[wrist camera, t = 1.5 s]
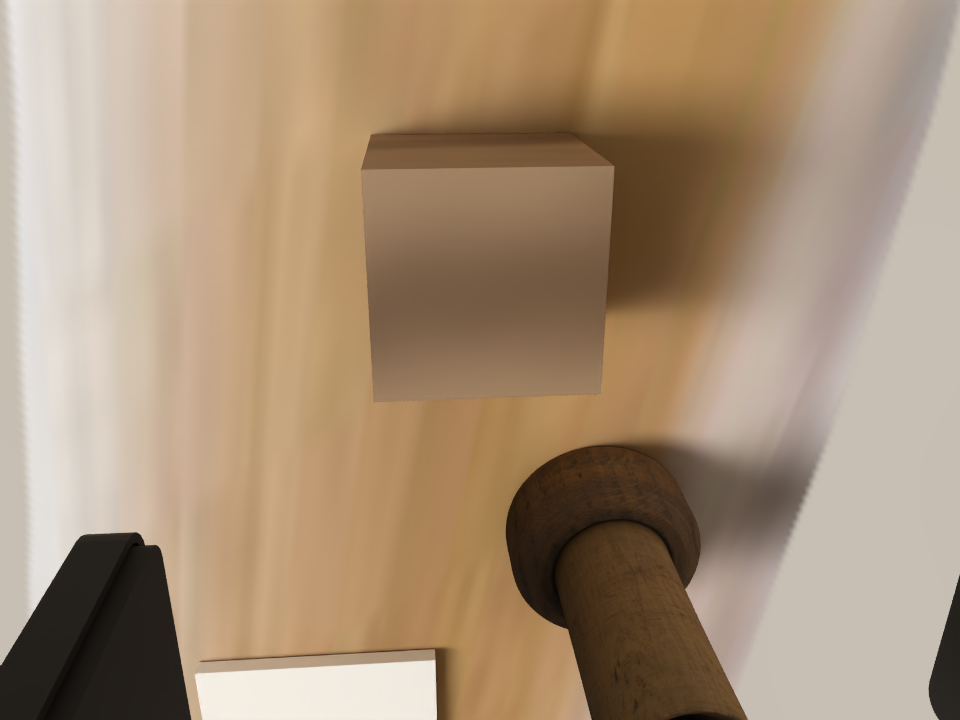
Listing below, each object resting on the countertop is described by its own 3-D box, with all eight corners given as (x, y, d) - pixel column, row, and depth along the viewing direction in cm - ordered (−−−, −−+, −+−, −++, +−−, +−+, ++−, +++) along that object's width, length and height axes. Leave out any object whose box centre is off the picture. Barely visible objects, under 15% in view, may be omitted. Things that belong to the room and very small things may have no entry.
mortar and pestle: (649, 415, 29) (960, 940, 13) (705, 552, 32) (1026, 1141, 15) (476, 489, 30) (561, 1081, 13) (545, 618, 32) (687, 1252, 16)
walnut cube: (371, 134, 25) (361, 169, 20) (569, 132, 25) (614, 166, 20) (380, 322, 27) (374, 402, 22) (562, 318, 28) (600, 394, 22)
